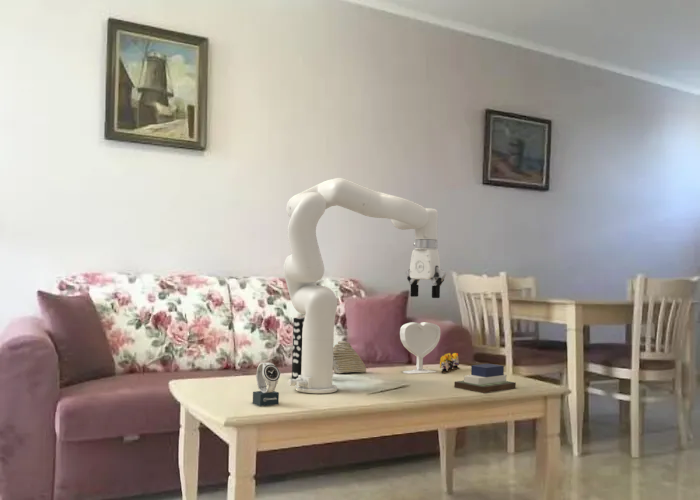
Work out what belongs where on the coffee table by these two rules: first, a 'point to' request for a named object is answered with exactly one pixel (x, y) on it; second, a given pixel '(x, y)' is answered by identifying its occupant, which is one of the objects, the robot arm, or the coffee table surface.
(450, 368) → the figurine set
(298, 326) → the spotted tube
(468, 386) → the green brown rectangular slab
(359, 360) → the fossil tooth
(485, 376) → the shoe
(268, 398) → the watch
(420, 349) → the heart sculpture
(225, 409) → the coffee table surface
